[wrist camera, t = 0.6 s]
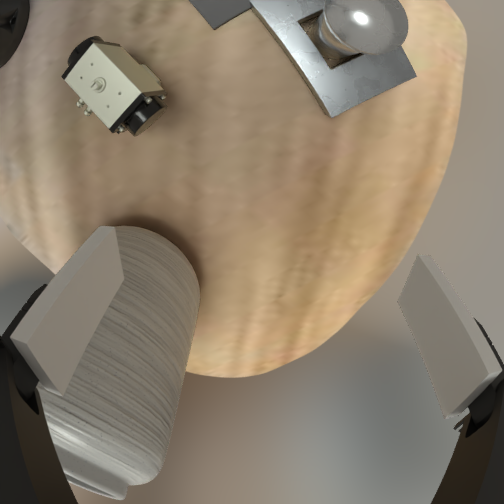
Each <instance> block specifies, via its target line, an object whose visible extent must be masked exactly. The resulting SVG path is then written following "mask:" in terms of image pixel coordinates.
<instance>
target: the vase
mask: <svg viewBox="0 0 504 504" xmlns="http://www.w3.org/2000/svg"><path fill="white" fill-rule="evenodd" d="M115 231H116V237H117V243H118V248H119V254H120V259H121V264H122V269H123V274H124V281H123V282H122V284H121V286H120V287H119V289H118V291H117V292H116V294H115V296H114V298H113V299H112V301H111V303H110V305H109V306H108V308H107V310H106V312H105V313H104V315H103V317H102V319H101V321H100V323H99V324H98V326H97V328H96V330H95V332H94V334H93V336H92V338H91V339H90V341H89V343H88V345H87V347H86V349H85V351H84V353H83V355H82V357H81V359H80V361H79V363H78V365H77V367H76V369H75V371H74V374H73V376H72V378H71V380H70V382H69V384H68V386H67V389H66V391H65V393H64V395H63V397H62V396H60V395H57V394H55V393H52V392H50V391H47V390H46V389H45V388H44V386H43V385H42V384H41V383H40V381H39V382H38V384H37V386H36V388H37V389H38V391H39V394H40V398H41V402H42V406H43V410H44V414H45V418H46V421H47V425H48V428H49V431H50V435H51V438H52V441H53V444H54V447H55V450H56V452H57V455H58V458H59V461H60V463H61V466H62V468H63V471H64V473H65V476H66V478H67V481H68V482H70V483H72V484H74V485H77V486H79V487H81V488H84V489H87V490H89V491H92V492H94V493H97V494H100V495H103V496H106V497H109V498H113V499H117V500H123V499H124V498H125V497H126V493H127V489H128V485H139V484H144V483H147V482H149V481H151V480H153V479H154V478H155V477H156V476H157V475H158V473H159V472H160V470H161V468H162V466H163V463H164V460H165V456H166V452H167V448H168V444H169V441H170V437H171V433H172V427H173V423H174V419H175V415H176V410H177V406H178V402H179V397H180V393H181V388H182V384H183V379H184V374H185V370H186V366H187V362H188V357H189V353H190V349H191V344H192V340H193V335H194V331H195V326H196V321H197V316H198V310H199V305H200V287H199V283H198V279H197V276H196V273H195V271H194V269H193V267H192V265H191V264H190V262H189V261H188V259H187V258H186V256H185V255H184V254H183V253H182V252H181V251H180V250H179V249H178V248H177V247H176V246H175V245H174V244H173V243H171V242H170V241H169V240H168V239H166V238H164V237H163V236H161V235H159V234H158V233H155V232H153V231H150V230H148V229H144V228H140V227H136V226H116V227H115ZM61 269H62V268H61ZM56 275H57V274H56ZM51 281H52V280H51Z"/></svg>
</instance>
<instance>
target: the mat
mask: <svg viewBox="0 0 504 504" xmlns="http://www.w3.org/2000/svg"><path fill="white" fill-rule="evenodd" d="M189 1H190V2H191V3H192V4H193V6H194V7H195V8H196V9H197V10H198V11H199V12H200V14H201V15H202V16H203V17H204V18H205V19H206V21H207V22H208V23H209V24H210V25H211V27H212V28H213V29H214V30H215V29H216V28H218V27H220V26H221V25H223V24H225V23H226V22H228V21H229V20H231V19H233V18H235V17H236V16H238V15H240V14H242V13H243V12H245V11H247V10H249V9H251V7H250V2H249V0H189Z"/></svg>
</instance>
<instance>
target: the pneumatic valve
mask: <svg viewBox="0 0 504 504" xmlns="http://www.w3.org/2000/svg"><path fill="white" fill-rule="evenodd" d="M68 66H69V67H68V68H67V70H66V71H65V72H64V74H63V75H62V78H63V79H64V80H65V81H66V82H67V84H68V85H69V86H70V87H71V88H72V89H73V90H74V91H75V92H76V94H77V95H78V96H79V97H80V99H79V100H78V102H77V103H76V105H77V106H78V107H82V106H83V105H84V104H85V103H86V105H87V106H88V107H87V109H85V111H84V114H85V115H87V116H90V115H91V113H92V112H94V113H95V114H96V116H97V117H98V118H99V119H100V120H101V121H102V122H103V123H104V124H105V125H106V126H107V127H108V129H109V130H110V131H111V132H112V133H115V132H117V133H118V134H119V133H122V132H124V131H127V130H128V131H129V132H130V133H131V134H132V135H133V136H138V135H139V134H141V133H142V132H143V131H145V130H146V129H147V128H148V127H150V126H151V125H152V124H153V123H154V122H155V121H156V120H157V119H158V118H159V117H160V116H161V115H162V114H163V113H164V112H165V110H166V109H167V105H166V104H165V103H164V102H163V100H164V99H165V96H166V95H167V93H166V92H165V91H164V90H163V88H162V87H161V83H160V79H159V78H158V77H157V76H156V75H155V74H154V73H153V72H152V71H151V70H150V69H149V68H148V67H147V66H146V65H145V64H144V65H143V64H140V65H139V64H138V63H137V62H136V61H135V60H134V59H133V58H132V57H131V56H130V55H129V54H128V53H127V52H126V51H125V50H124V49H123V48H122V47H121V46H120V45H119V44H115V43H110V42H104V41H103V40H102V39H101V38H100V37H99V36H93V37H90V38H88V39H86V40H85V41H83V42H82V43H80V44H79V45H78V46H77V47H76V48H75V49H74V50H73V52H72V53H71V55H70V57H69V59H68Z"/></svg>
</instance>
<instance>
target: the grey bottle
mask: <svg viewBox="0 0 504 504" xmlns="http://www.w3.org/2000/svg"><path fill="white" fill-rule="evenodd" d="M407 33H408V19H407V15H406V12H405V10H404V8H403V6H402V5H401V3H400V2H399V1H398V0H325V2H324V7H323V13H322V14H321V15H320V16H319V17H318V18H317V20H316V21H315V22H314V23H313V25H312V26H311V28H310V30H309V38H310V40H311V41H312V43H313V44H314V45H315V47H316V48H317V50H318V51H319V53H320V54H321V55H322V56H324V57H327V58H330V59H341V58H344V57H347V56H351V55H354V54H357V53H363V54H368V55H379V54H384V53H388V52H391V51H394V50H396V49H397V48H398V47H400V46H401V45H402V43H403V42H404V41H405V39H406V36H407Z"/></svg>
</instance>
